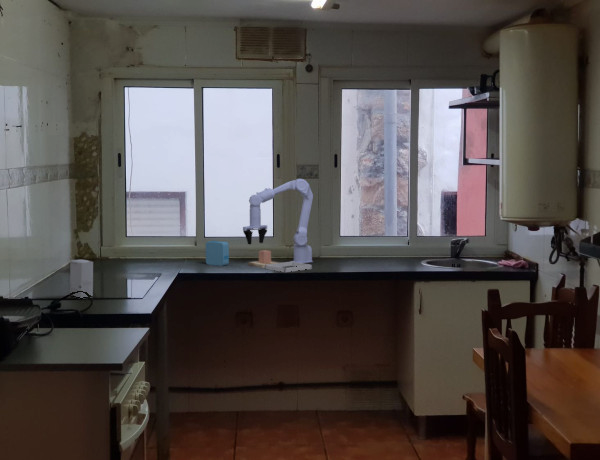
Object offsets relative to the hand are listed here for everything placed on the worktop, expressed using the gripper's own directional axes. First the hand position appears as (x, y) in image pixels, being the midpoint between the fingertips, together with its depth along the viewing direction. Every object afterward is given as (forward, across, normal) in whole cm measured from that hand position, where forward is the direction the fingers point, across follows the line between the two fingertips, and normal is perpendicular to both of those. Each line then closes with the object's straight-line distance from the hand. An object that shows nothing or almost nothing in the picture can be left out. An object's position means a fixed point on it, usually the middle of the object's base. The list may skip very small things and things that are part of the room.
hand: (255, 243), depth 404 cm
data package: (+11, +18, -9) cm, 23 cm away
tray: (+10, -1, +26) cm, 28 cm away
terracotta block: (+9, +1, +9) cm, 13 cm away
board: (+10, +1, +9) cm, 14 cm away
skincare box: (+11, +110, +29) cm, 114 cm away
